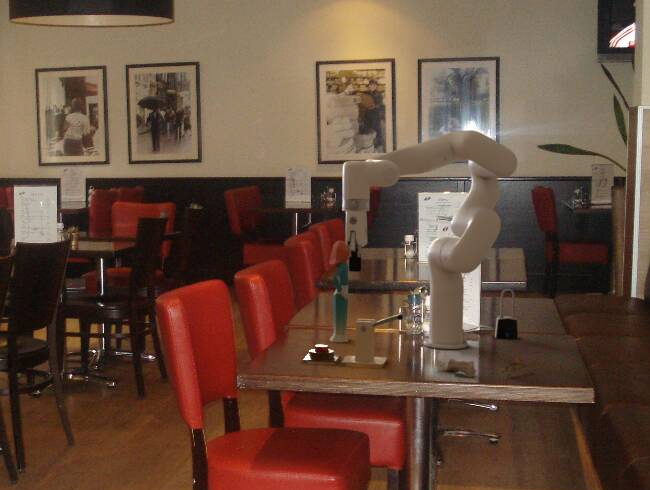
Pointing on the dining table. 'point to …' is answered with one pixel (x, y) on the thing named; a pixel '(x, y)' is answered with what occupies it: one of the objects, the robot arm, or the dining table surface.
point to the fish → (517, 368)
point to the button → (321, 348)
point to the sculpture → (340, 291)
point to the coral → (457, 366)
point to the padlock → (507, 322)
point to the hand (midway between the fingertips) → (355, 271)
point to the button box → (321, 356)
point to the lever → (389, 319)
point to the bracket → (364, 345)
